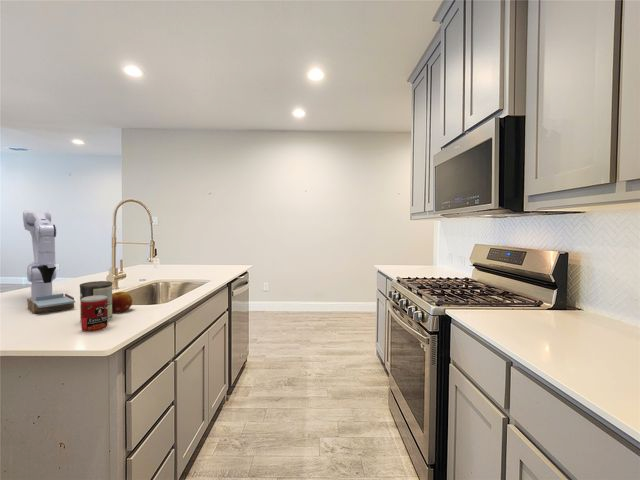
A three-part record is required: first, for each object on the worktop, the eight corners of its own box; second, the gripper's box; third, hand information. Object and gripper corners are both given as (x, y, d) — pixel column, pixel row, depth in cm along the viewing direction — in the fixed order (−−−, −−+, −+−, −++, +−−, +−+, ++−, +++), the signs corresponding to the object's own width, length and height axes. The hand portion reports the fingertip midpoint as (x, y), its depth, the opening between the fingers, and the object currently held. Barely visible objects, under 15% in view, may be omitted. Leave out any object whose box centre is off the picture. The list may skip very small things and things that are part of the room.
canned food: (87, 333, 105) (86, 301, 105) (77, 328, 109) (76, 298, 109) (112, 327, 112) (111, 297, 111) (101, 323, 116) (101, 294, 115)
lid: (31, 303, 131) (31, 297, 131) (66, 298, 140) (66, 292, 140) (38, 308, 123) (38, 302, 123) (74, 302, 133) (74, 297, 133)
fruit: (103, 315, 126) (102, 295, 126) (108, 309, 134) (108, 291, 134) (130, 313, 130) (130, 294, 129) (134, 307, 138) (134, 289, 138)
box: (27, 308, 133) (27, 298, 132) (65, 302, 143) (65, 293, 143) (34, 314, 125) (34, 303, 125) (74, 307, 136) (73, 297, 136)
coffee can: (76, 324, 114) (75, 286, 113) (84, 317, 123) (83, 281, 122) (110, 321, 118) (109, 285, 117) (114, 314, 127) (114, 280, 127)
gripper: (30, 251, 138) (31, 282, 138) (38, 253, 129) (39, 285, 129) (51, 250, 143) (51, 280, 144) (60, 252, 134) (60, 283, 135)
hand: (47, 282), depth 137 cm, fingers closed
